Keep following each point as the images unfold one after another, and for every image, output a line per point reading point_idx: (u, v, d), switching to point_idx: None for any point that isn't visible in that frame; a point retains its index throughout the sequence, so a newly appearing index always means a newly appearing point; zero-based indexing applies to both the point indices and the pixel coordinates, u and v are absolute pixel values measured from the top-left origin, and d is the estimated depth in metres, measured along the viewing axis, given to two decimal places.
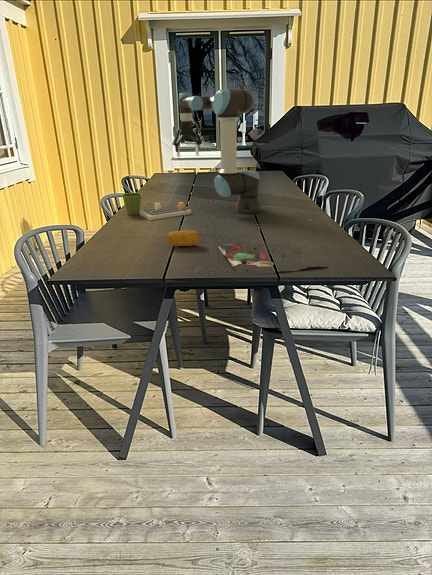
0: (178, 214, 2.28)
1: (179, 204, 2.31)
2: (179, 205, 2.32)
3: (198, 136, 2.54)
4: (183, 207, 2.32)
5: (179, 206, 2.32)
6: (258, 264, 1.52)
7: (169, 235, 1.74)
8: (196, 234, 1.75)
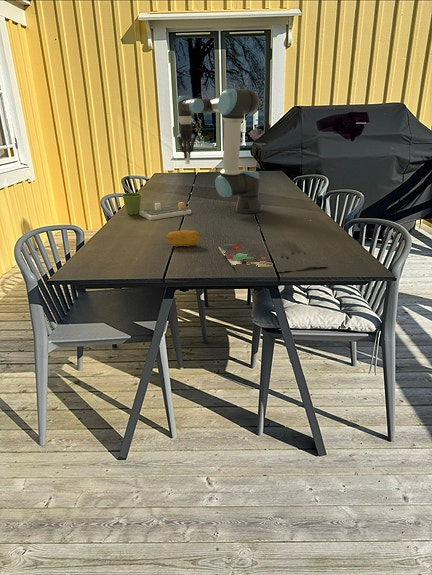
0: (178, 214, 2.28)
1: (179, 204, 2.31)
2: (179, 205, 2.32)
3: (193, 143, 2.49)
4: (183, 207, 2.32)
5: (179, 206, 2.32)
6: (258, 264, 1.52)
7: (169, 235, 1.74)
8: (196, 234, 1.75)
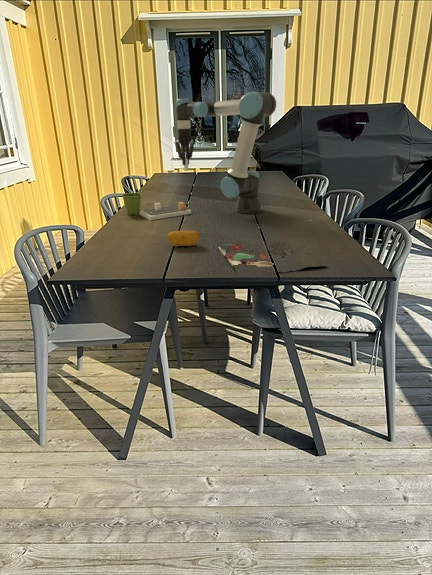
0: (178, 214, 2.28)
1: (179, 204, 2.31)
2: (179, 205, 2.32)
3: (192, 149, 2.35)
4: (183, 207, 2.32)
5: (179, 206, 2.32)
6: (258, 264, 1.52)
7: (169, 235, 1.74)
8: (196, 234, 1.75)
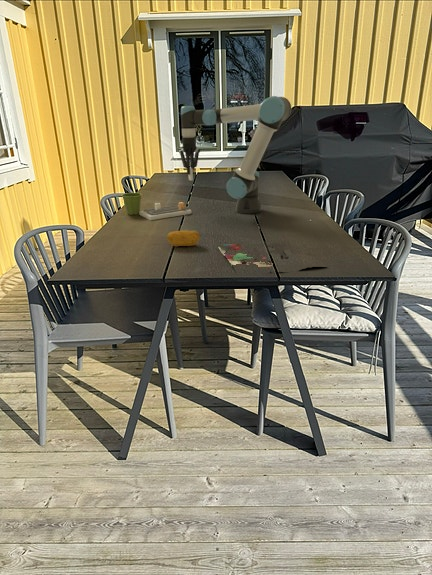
0: (178, 214, 2.28)
1: (179, 204, 2.31)
2: (179, 205, 2.32)
3: (197, 158, 2.26)
4: (183, 207, 2.32)
5: (179, 206, 2.32)
6: (258, 264, 1.52)
7: (169, 235, 1.74)
8: (196, 234, 1.75)
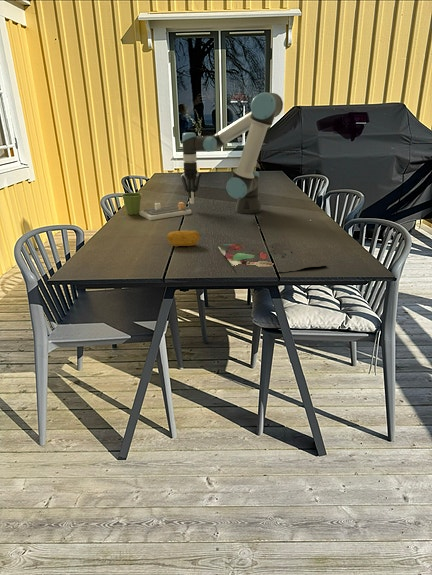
0: (178, 214, 2.28)
1: (179, 204, 2.31)
2: (179, 205, 2.32)
3: (198, 182, 2.31)
4: (183, 207, 2.32)
5: (179, 206, 2.32)
6: (258, 264, 1.52)
7: (169, 235, 1.74)
8: (196, 234, 1.75)
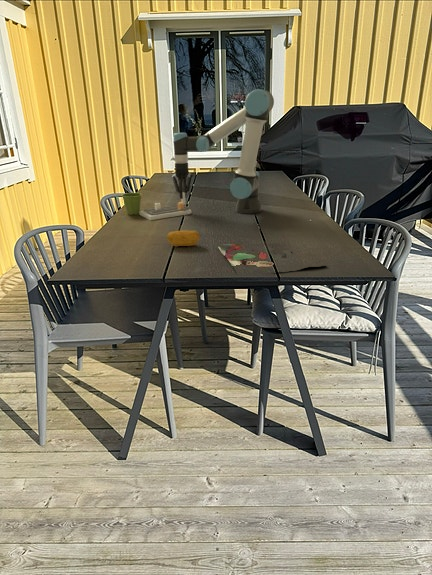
0: (178, 214, 2.28)
1: (178, 204, 2.31)
2: (178, 205, 2.32)
3: (189, 182, 2.29)
4: (182, 207, 2.32)
5: (178, 206, 2.32)
6: (258, 264, 1.52)
7: (169, 235, 1.74)
8: (196, 234, 1.75)
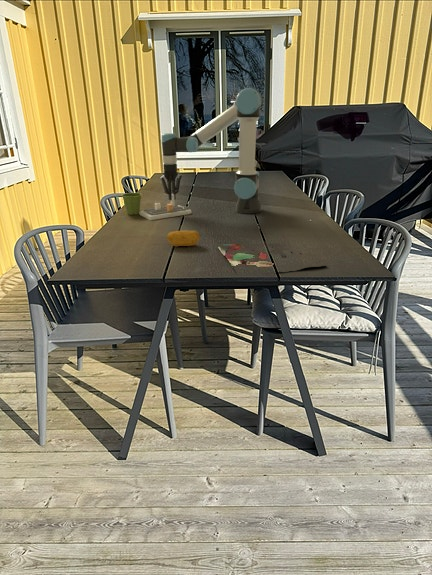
0: (178, 214, 2.28)
1: (167, 206, 2.28)
2: (167, 207, 2.28)
3: (178, 184, 2.26)
4: (171, 209, 2.28)
5: (167, 208, 2.29)
6: (258, 264, 1.52)
7: (169, 235, 1.74)
8: (196, 234, 1.75)
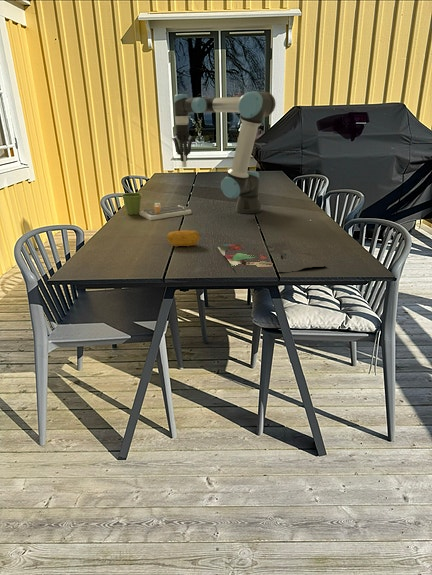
0: (178, 214, 2.28)
1: (155, 208, 2.24)
2: (155, 209, 2.25)
3: (190, 145, 2.33)
4: (159, 211, 2.25)
5: (155, 210, 2.25)
6: (258, 264, 1.52)
7: (169, 235, 1.74)
8: (196, 234, 1.75)
